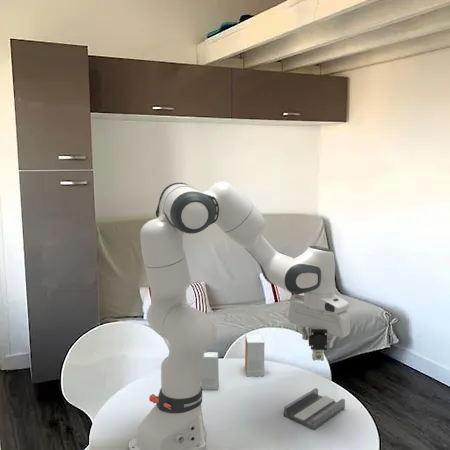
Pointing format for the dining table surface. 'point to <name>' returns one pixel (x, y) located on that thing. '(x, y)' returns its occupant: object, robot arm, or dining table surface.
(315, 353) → the pneumatic valve
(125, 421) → the dining table surface
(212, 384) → the skincare box
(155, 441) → the robot arm
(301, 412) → the rail plate
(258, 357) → the small box
